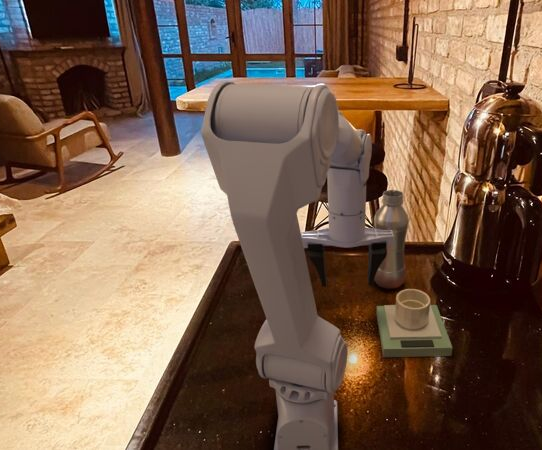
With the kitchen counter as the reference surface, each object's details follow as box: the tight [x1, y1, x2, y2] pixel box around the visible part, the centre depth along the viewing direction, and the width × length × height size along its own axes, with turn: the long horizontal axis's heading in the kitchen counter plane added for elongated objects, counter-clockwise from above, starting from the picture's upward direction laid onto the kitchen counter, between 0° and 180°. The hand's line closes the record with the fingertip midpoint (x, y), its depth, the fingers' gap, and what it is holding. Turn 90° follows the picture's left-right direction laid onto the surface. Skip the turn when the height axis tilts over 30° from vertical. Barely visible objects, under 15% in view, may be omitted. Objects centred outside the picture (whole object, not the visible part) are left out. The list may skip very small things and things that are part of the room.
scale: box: [375, 304, 453, 358], centre depth 70 cm, size 11×11×2 cm
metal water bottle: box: [373, 189, 410, 290], centre depth 79 cm, size 6×7×20 cm
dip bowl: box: [395, 288, 431, 329], centre depth 69 cm, size 6×6×4 cm
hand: (347, 282), depth 68 cm, fingers open, 7 cm apart
